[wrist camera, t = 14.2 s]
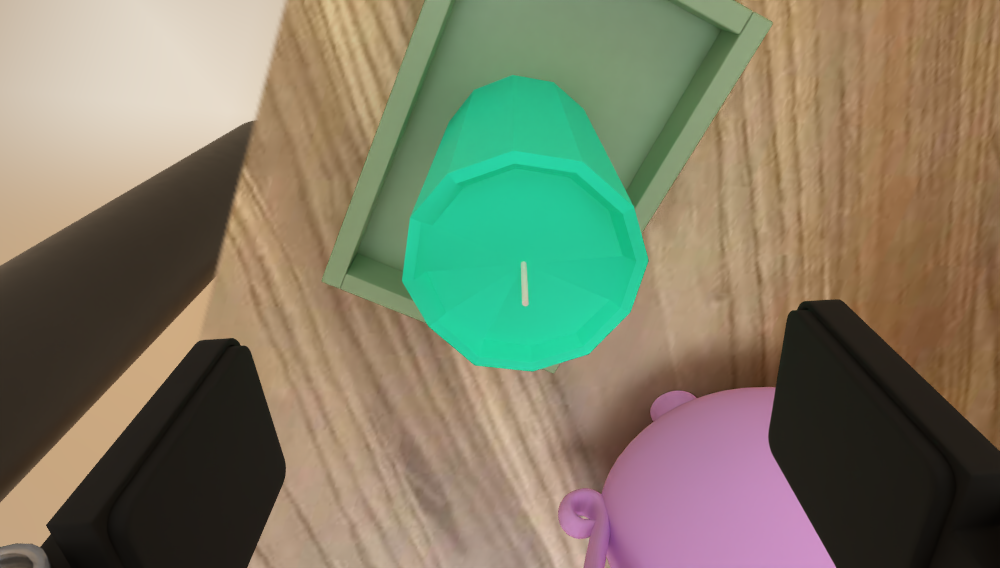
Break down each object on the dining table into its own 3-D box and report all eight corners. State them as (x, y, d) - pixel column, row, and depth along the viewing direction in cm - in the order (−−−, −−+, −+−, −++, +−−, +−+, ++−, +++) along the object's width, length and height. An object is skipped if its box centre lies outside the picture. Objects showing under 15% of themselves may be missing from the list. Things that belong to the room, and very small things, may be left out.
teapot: (981, 350, 29) (1277, 591, 18) (887, 552, 35) (1059, 819, 24) (561, 340, 29) (592, 574, 18) (545, 543, 35) (561, 806, 24)
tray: (338, 252, 27) (320, 281, 24) (481, -130, 20) (477, -144, 18) (550, 339, 29) (554, 374, 26) (744, 16, 22) (774, 22, 20)
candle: (539, 40, 22) (567, 108, 11) (623, 171, 24) (712, 332, 13) (412, 135, 24) (330, 273, 13) (501, 250, 26) (494, 448, 15)
